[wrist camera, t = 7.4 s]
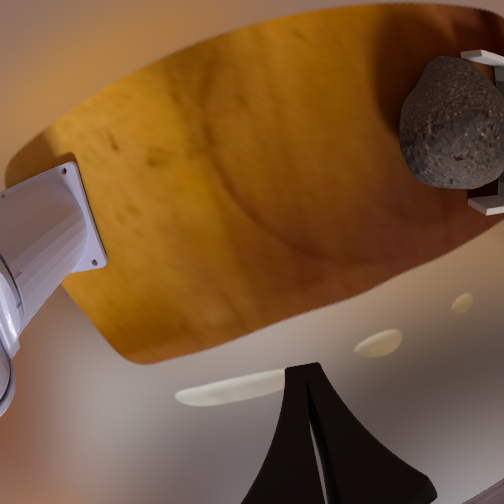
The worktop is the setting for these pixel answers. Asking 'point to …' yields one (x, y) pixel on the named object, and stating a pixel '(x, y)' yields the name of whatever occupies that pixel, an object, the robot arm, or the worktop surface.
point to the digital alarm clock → (500, 64)
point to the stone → (453, 126)
